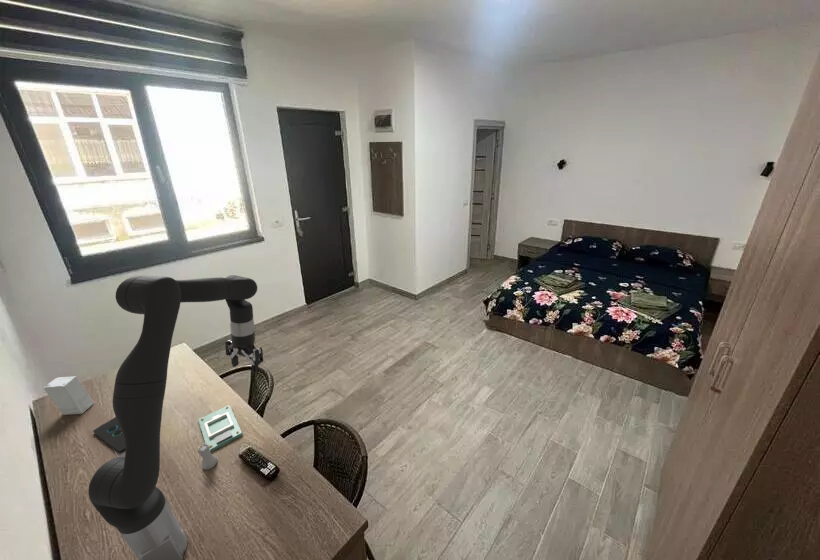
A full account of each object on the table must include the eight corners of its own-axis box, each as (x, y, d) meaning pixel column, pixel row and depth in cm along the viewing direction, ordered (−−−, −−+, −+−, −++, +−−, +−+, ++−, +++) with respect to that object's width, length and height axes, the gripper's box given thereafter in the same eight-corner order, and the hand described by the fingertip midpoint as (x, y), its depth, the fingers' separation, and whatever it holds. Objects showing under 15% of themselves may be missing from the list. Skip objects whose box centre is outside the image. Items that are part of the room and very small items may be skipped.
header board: (242, 434, 117) (241, 430, 116) (208, 453, 110) (206, 448, 110) (230, 406, 129) (228, 402, 129) (199, 421, 123) (197, 417, 122)
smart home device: (118, 414, 126) (145, 433, 117) (119, 418, 126) (147, 436, 118) (91, 430, 119) (118, 451, 110) (93, 434, 120) (120, 455, 111)
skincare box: (94, 403, 133) (78, 375, 127) (81, 414, 128) (64, 386, 122) (74, 404, 133) (57, 376, 127) (60, 415, 128) (41, 387, 122)
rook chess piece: (214, 455, 109) (207, 439, 106) (220, 463, 107) (213, 446, 104) (200, 465, 106) (192, 448, 103) (205, 473, 104) (198, 456, 100)
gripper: (217, 330, 111) (221, 369, 116) (251, 340, 108) (254, 380, 113) (234, 321, 118) (237, 358, 123) (267, 330, 114) (268, 368, 120)
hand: (245, 368), depth 118 cm, fingers open, 8 cm apart
